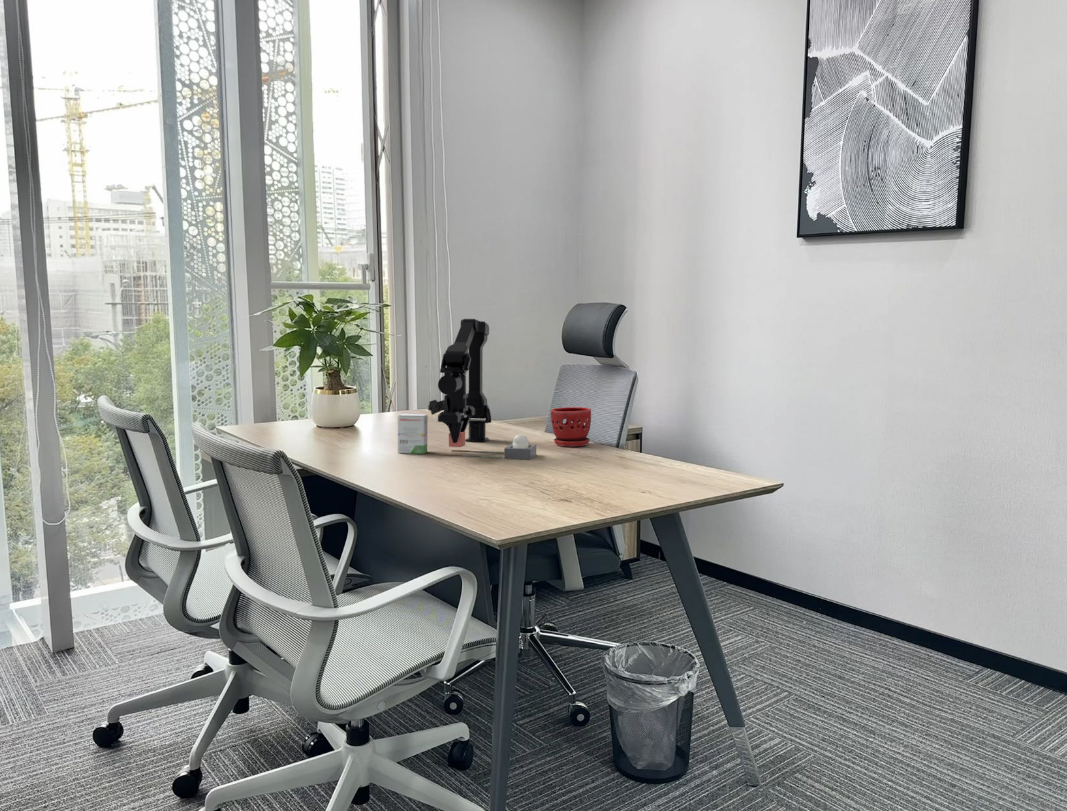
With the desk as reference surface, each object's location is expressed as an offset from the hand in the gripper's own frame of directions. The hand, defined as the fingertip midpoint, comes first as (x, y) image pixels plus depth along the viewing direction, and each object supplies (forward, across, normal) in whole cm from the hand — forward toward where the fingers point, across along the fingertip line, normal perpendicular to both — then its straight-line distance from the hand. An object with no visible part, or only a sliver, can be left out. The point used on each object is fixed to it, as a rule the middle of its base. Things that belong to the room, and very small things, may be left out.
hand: (457, 441), depth 264 cm
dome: (+3, 0, +20) cm, 20 cm away
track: (+4, 0, +6) cm, 7 cm away
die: (+1, 0, 0) cm, 1 cm away
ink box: (+4, +1, -14) cm, 15 cm away
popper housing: (+4, 0, +20) cm, 20 cm away
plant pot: (+4, -24, +31) cm, 39 cm away
